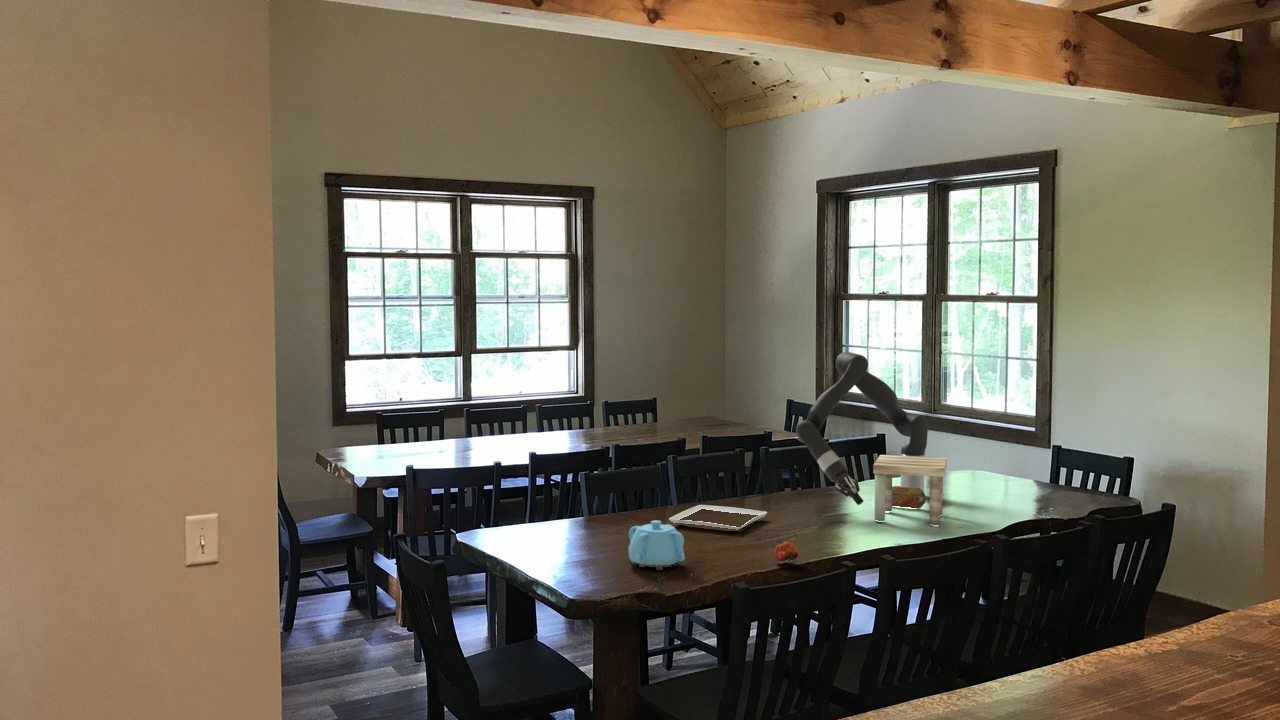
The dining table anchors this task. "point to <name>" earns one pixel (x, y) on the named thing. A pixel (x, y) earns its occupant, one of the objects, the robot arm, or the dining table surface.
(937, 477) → the stool
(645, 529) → the decorative pot
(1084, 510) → the dining table surface
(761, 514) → the square plate
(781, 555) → the pomegranate
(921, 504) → the tin
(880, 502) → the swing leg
